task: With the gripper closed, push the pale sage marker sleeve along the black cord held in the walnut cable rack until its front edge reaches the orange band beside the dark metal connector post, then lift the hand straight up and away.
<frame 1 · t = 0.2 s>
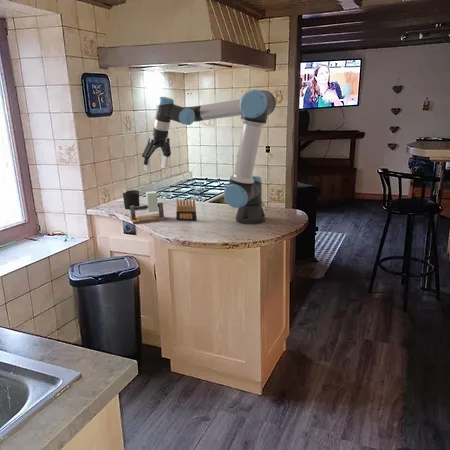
hand: (154, 169, 223), 27 cm above the worktop, tool tilted 15°, fingers open, 13 cm apart
ammunition clip: (186, 220, 226), on the worktop
marker sleeve: (151, 201, 229), point 10 cm above the worktop, slide at -3.0 cm
cord rack: (147, 219, 230), on the worktop
pen holder: (132, 208, 257), on the worktop
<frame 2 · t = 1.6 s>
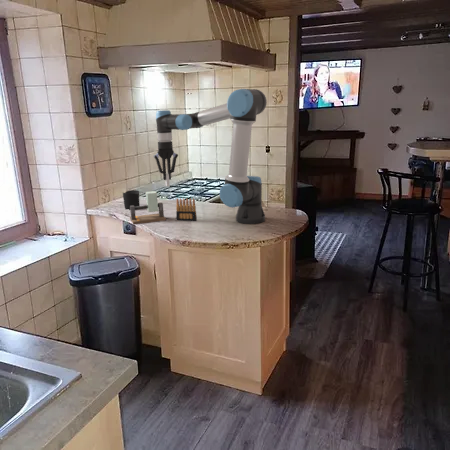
hand: (167, 185, 230), 17 cm above the worktop, tool pointing down, fingers closed
nothing on the worktop moved.
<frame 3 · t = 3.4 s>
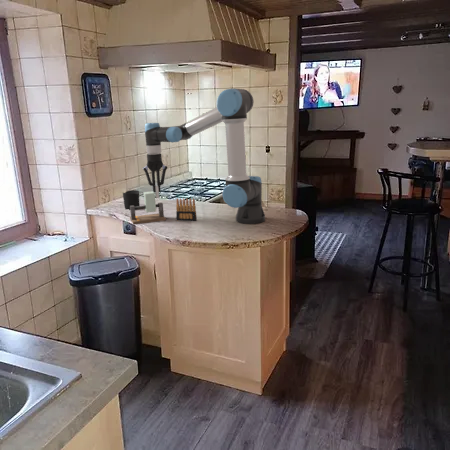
hand: (157, 198, 229), 11 cm above the worktop, tool pointing down, fingers closed
marker sleeve: (149, 201, 228), point 10 cm above the worktop, slide at -1.8 cm, touching gripper
everything else where it was.
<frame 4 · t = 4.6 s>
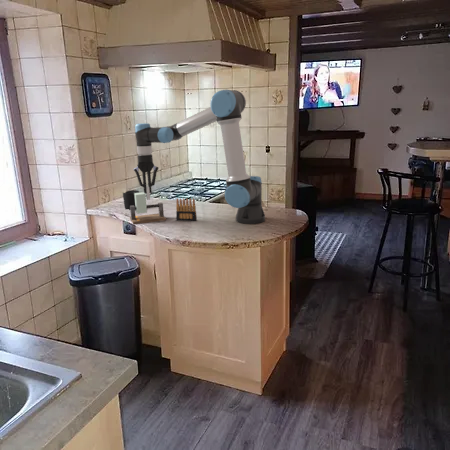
hand: (148, 199, 228), 11 cm above the worktop, tool pointing down, fingers closed
marker sleeve: (140, 202, 227), point 10 cm above the worktop, slide at 3.0 cm, touching gripper
everything else where it was.
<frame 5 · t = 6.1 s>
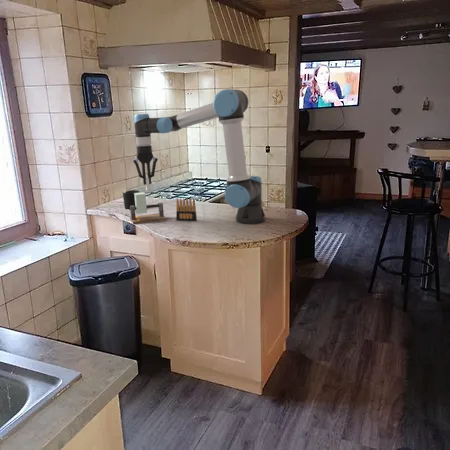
hand: (147, 190, 226), 16 cm above the worktop, tool pointing down, fingers closed
marker sleeve: (140, 202, 227), point 10 cm above the worktop, slide at 3.0 cm
everything else where it was.
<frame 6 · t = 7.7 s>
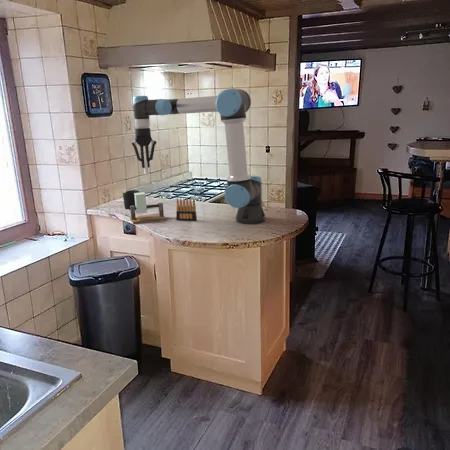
hand: (146, 174, 224), 24 cm above the worktop, tool pointing down, fingers closed
nothing on the worktop moved.
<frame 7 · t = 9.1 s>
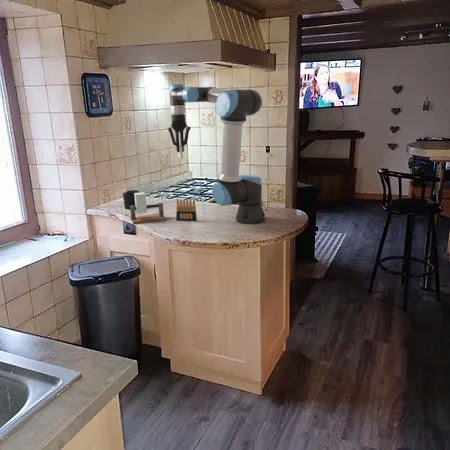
hand: (180, 157, 239), 30 cm above the worktop, tool pointing down, fingers closed
nothing on the worktop moved.
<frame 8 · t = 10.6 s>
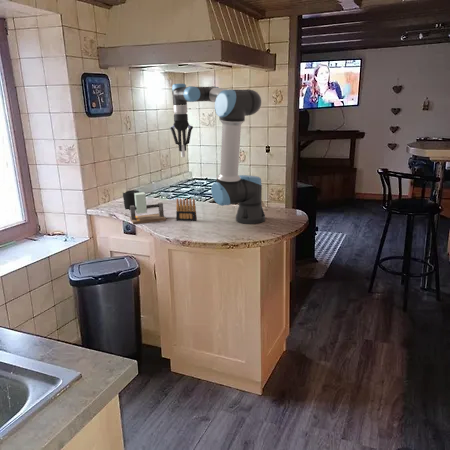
hand: (183, 156, 241), 30 cm above the worktop, tool pointing down, fingers closed
nothing on the worktop moved.
at the end: marker sleeve slide at 3.0 cm; ammunition clip moved 0.3 cm from its start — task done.
